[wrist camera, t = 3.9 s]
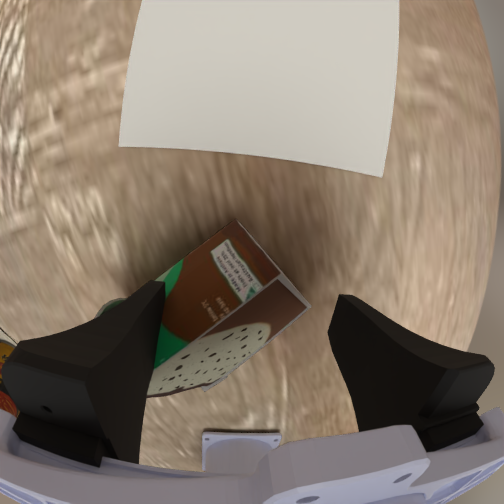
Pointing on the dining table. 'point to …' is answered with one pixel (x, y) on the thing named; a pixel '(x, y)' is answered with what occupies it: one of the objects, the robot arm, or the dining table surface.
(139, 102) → the mat
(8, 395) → the condiment
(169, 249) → the dining table surface
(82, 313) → the dining table surface
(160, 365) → the food container
